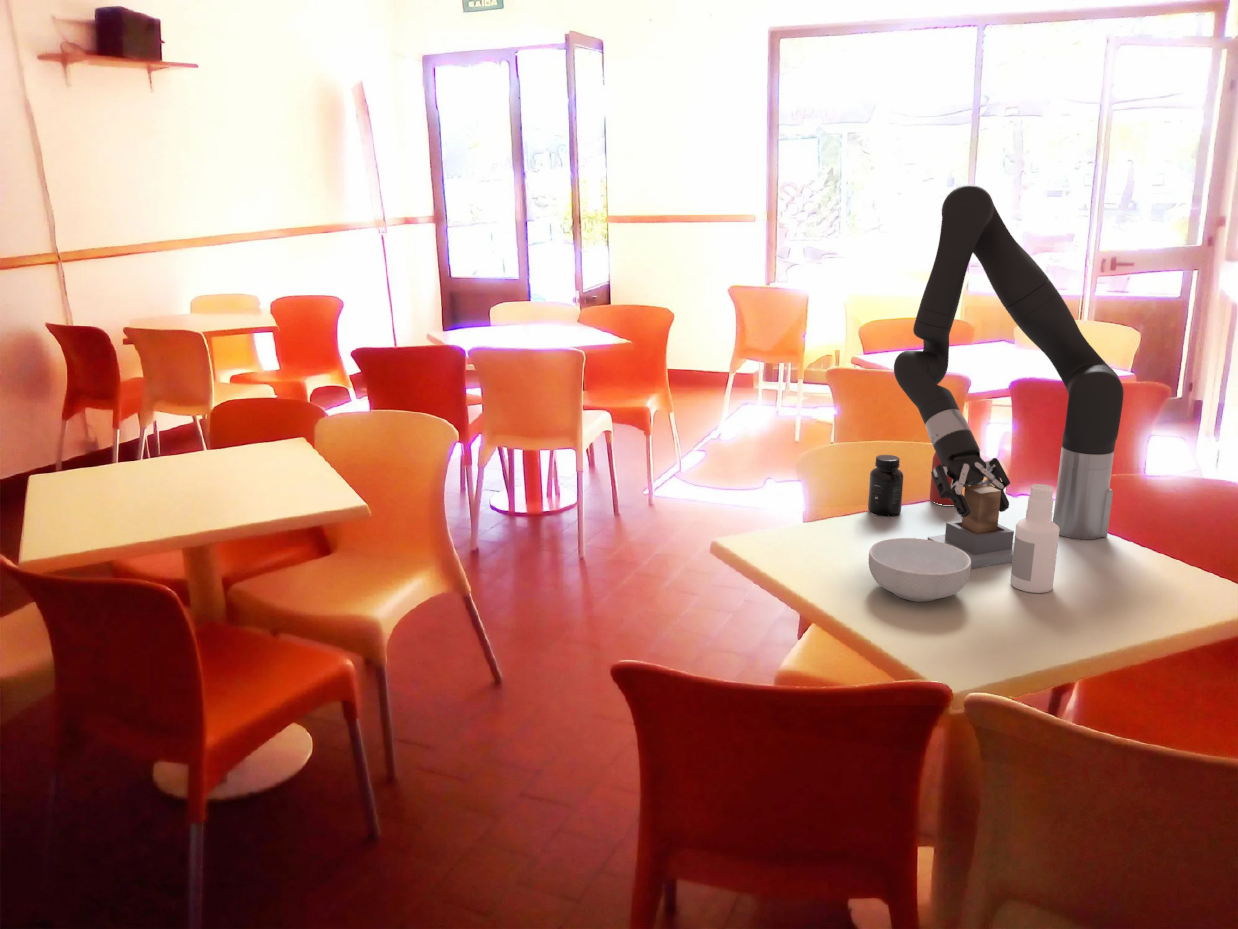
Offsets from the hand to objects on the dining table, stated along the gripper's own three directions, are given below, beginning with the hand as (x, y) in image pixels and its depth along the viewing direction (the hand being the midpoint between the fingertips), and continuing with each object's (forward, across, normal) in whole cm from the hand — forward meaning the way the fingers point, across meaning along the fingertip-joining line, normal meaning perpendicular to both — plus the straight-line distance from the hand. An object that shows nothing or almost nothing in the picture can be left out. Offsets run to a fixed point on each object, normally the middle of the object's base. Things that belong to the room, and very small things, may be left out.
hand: (985, 512), depth 178 cm
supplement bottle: (-13, -3, +25) cm, 29 cm away
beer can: (-14, +12, +26) cm, 31 cm away
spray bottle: (+17, -2, -5) cm, 17 cm away
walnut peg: (+4, 0, +6) cm, 7 cm away
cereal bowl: (+13, -22, -1) cm, 25 cm away
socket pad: (+5, 0, +7) cm, 8 cm away
